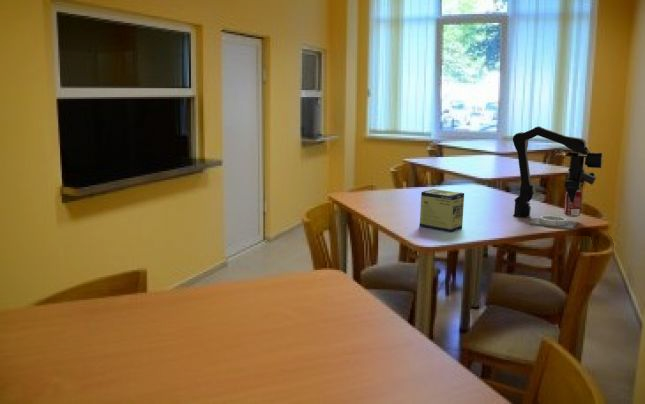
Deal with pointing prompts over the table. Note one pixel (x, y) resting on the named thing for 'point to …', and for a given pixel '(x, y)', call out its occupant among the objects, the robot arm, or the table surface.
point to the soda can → (573, 205)
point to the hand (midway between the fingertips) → (573, 200)
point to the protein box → (441, 210)
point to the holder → (553, 222)
